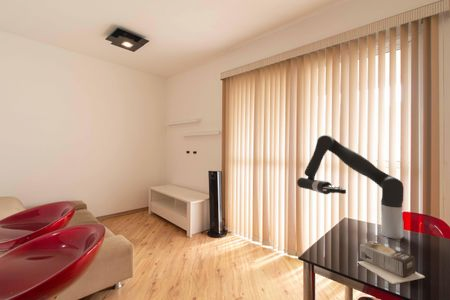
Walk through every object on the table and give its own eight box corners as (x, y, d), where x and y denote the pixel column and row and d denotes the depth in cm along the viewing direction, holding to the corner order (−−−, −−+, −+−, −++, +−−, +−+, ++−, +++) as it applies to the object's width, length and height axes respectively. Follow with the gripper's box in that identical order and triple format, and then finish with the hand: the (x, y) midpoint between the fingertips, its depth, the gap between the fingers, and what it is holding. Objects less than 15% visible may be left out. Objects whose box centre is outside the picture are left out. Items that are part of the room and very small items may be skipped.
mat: (386, 258, 91) (386, 257, 91) (424, 277, 77) (424, 276, 77) (357, 262, 88) (357, 261, 88) (392, 284, 73) (392, 283, 73)
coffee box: (371, 240, 94) (415, 256, 80) (371, 253, 94) (415, 272, 80) (359, 244, 90) (404, 262, 76) (359, 258, 90) (404, 279, 76)
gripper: (312, 181, 124) (334, 185, 107) (330, 180, 127) (354, 184, 111) (312, 193, 124) (334, 199, 107) (330, 192, 127) (355, 197, 110)
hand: (344, 191), depth 109 cm, fingers closed
